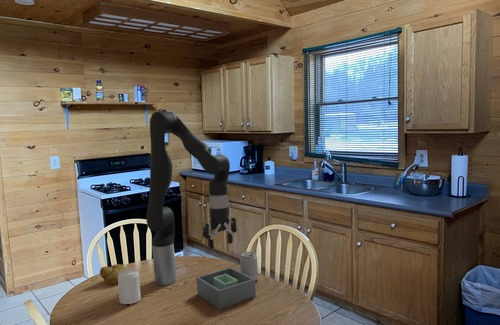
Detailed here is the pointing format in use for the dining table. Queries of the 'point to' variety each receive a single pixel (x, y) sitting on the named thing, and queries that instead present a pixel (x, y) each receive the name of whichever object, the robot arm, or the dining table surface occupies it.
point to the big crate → (229, 294)
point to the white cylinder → (129, 286)
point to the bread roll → (111, 273)
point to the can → (249, 264)
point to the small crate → (224, 281)
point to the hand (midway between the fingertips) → (220, 245)
